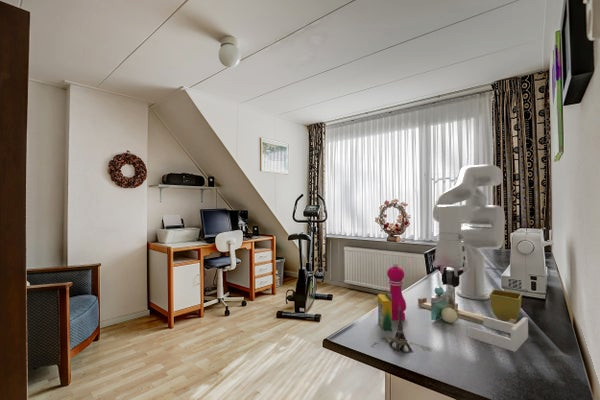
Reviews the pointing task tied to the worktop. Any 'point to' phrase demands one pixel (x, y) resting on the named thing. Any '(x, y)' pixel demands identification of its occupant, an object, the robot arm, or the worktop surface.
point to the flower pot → (505, 304)
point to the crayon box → (385, 311)
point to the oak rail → (459, 312)
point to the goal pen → (516, 330)
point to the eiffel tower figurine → (400, 340)
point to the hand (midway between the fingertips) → (450, 284)
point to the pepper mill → (396, 291)
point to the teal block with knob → (443, 297)
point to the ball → (449, 315)
